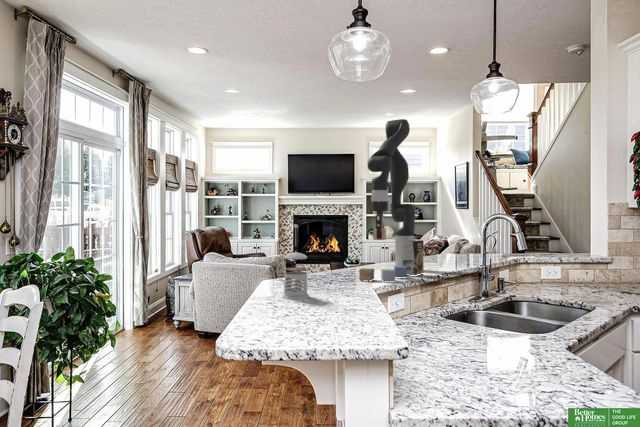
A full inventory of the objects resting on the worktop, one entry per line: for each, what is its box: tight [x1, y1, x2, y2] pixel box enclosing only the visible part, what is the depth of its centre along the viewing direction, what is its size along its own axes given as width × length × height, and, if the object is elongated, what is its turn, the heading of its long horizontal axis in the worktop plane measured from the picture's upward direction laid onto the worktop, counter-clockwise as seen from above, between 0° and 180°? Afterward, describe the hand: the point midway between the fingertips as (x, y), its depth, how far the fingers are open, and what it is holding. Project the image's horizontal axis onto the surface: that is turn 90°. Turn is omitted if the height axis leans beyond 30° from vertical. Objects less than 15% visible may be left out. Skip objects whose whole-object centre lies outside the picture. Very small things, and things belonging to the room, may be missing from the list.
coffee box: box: [403, 239, 425, 275], centre depth 206 cm, size 9×6×16 cm
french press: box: [276, 223, 311, 300], centre depth 155 cm, size 10×12×25 cm
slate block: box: [380, 268, 396, 282], centre depth 189 cm, size 5×5×5 cm
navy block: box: [393, 265, 408, 278], centre depth 199 cm, size 5×5×5 cm
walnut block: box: [358, 267, 375, 281], centre depth 191 cm, size 5×5×5 cm
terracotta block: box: [373, 227, 387, 241], centre depth 201 cm, size 5×5×5 cm
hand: (379, 238), depth 201 cm, fingers closed on terracotta block, 5 cm apart
